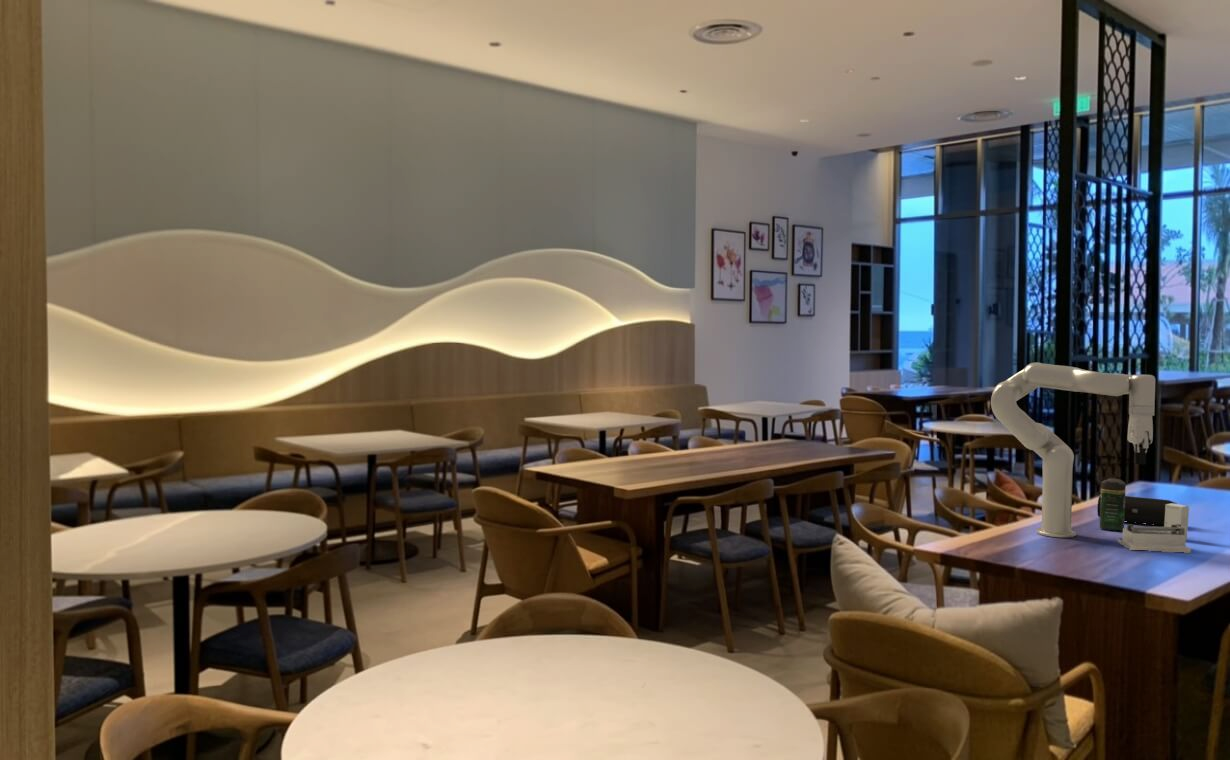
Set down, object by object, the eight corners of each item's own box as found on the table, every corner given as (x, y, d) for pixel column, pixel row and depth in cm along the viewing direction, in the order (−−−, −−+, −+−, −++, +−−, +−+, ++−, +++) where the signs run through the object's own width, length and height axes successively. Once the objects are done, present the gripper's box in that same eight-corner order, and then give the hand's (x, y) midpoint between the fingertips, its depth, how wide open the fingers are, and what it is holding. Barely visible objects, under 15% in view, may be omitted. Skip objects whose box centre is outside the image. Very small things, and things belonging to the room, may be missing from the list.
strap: (1129, 528, 306) (1129, 525, 306) (1178, 529, 303) (1178, 526, 303) (1132, 530, 303) (1132, 527, 303) (1182, 531, 300) (1182, 528, 300)
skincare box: (1162, 538, 318) (1163, 503, 318) (1170, 536, 320) (1171, 502, 320) (1180, 541, 313) (1181, 506, 312) (1188, 540, 315) (1189, 505, 314)
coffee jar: (1122, 532, 327) (1124, 481, 326) (1098, 530, 332) (1099, 479, 331) (1125, 528, 335) (1127, 478, 334) (1101, 525, 340) (1103, 476, 339)
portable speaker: (1096, 521, 349) (1097, 495, 348) (1101, 517, 356) (1101, 492, 356) (1174, 529, 333) (1174, 502, 333) (1177, 525, 341) (1177, 499, 341)
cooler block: (1117, 542, 311) (1118, 520, 311) (1175, 545, 308) (1175, 523, 307) (1130, 550, 299) (1131, 528, 299) (1190, 553, 296) (1191, 530, 295)
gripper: (1121, 408, 318) (1120, 460, 318) (1137, 412, 303) (1136, 466, 304) (1145, 409, 316) (1143, 461, 317) (1162, 412, 301) (1160, 467, 302)
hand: (1140, 463), depth 310 cm, fingers closed
